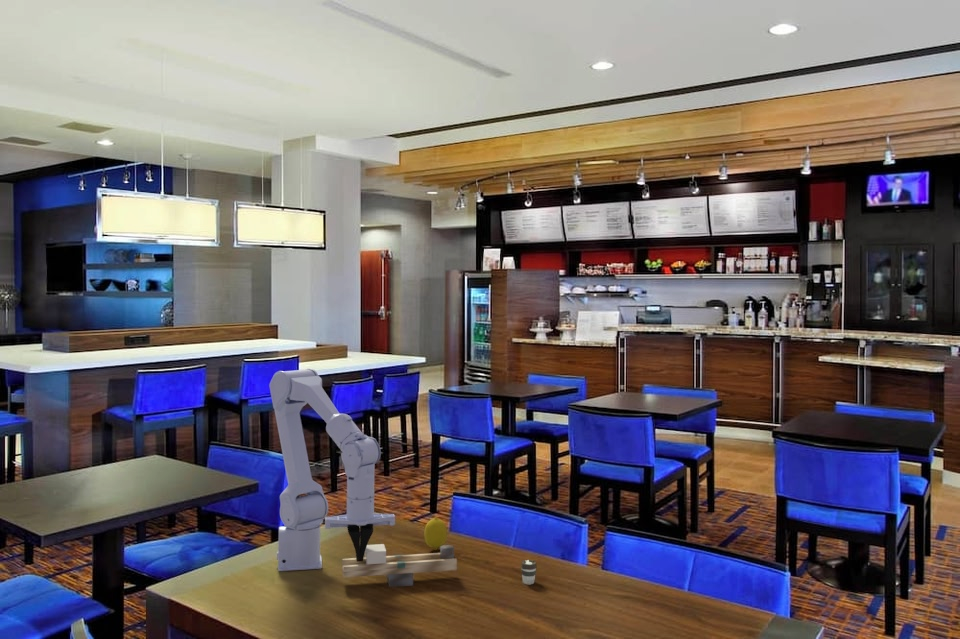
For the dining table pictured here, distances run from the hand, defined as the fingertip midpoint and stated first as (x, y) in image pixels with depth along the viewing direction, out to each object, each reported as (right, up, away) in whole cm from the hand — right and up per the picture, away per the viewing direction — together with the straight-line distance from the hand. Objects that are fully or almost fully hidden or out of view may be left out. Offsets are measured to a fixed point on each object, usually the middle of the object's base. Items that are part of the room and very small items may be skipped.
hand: (359, 559), depth 158 cm
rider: (+3, -1, +1) cm, 4 cm away
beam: (+8, -5, +2) cm, 10 cm away
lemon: (+15, -5, +22) cm, 27 cm away
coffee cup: (+36, -7, +3) cm, 37 cm away
